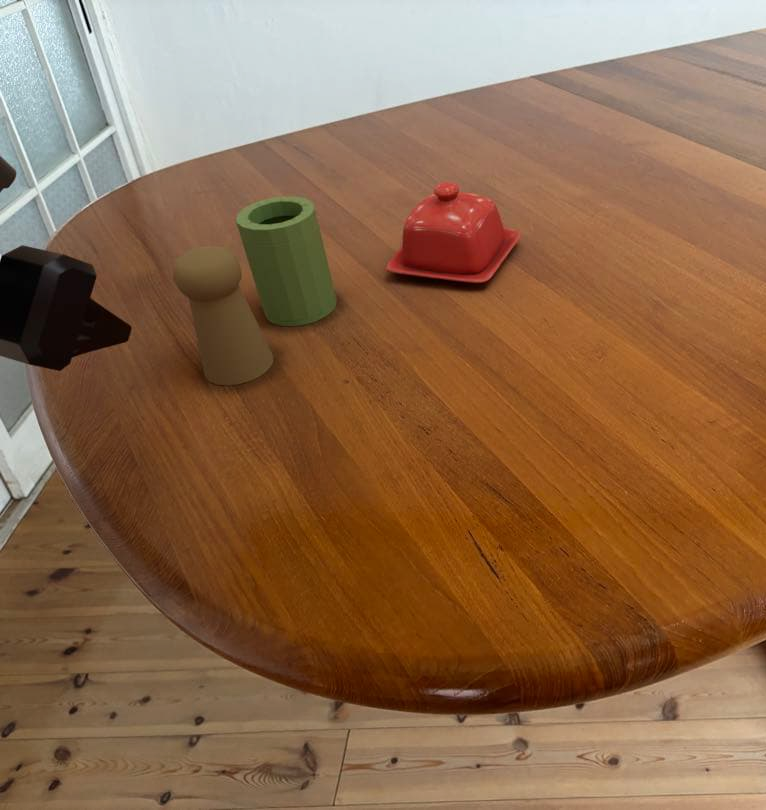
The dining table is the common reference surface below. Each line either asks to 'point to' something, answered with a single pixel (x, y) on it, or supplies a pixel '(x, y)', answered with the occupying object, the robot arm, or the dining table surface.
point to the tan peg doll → (222, 316)
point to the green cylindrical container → (287, 260)
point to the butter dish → (453, 238)
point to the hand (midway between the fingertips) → (79, 320)
